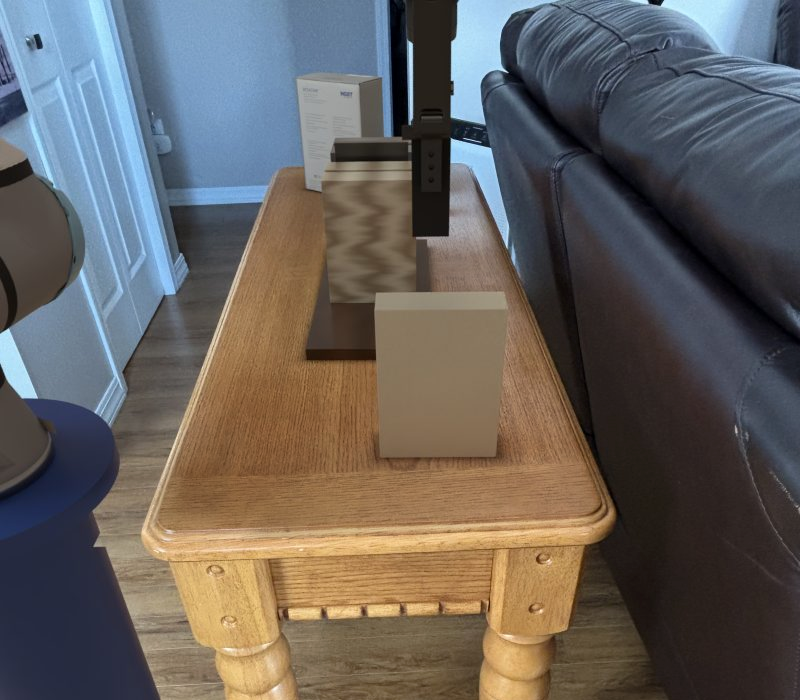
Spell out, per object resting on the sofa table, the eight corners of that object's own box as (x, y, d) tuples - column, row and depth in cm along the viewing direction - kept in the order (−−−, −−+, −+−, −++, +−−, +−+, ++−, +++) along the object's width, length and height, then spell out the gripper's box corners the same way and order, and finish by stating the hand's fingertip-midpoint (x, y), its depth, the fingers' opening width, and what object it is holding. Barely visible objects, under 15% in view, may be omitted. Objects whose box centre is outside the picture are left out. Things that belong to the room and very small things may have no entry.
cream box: (380, 457, 76) (374, 309, 66) (381, 436, 79) (376, 292, 69) (496, 457, 76) (508, 308, 66) (492, 436, 79) (504, 291, 69)
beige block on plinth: (306, 359, 93) (289, 197, 81) (331, 249, 124) (322, 118, 111) (432, 358, 93) (435, 195, 80) (426, 248, 124) (428, 117, 111)
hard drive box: (387, 191, 149) (384, 76, 136) (364, 201, 144) (359, 83, 131) (327, 180, 156) (319, 70, 143) (303, 189, 151) (293, 76, 138)
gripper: (509, -169, 36) (486, 262, 50) (480, -141, 55) (469, 165, 69) (357, -164, 37) (376, 263, 50) (381, -138, 56) (389, 167, 69)
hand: (430, 207), depth 60 cm, fingers open, 13 cm apart
